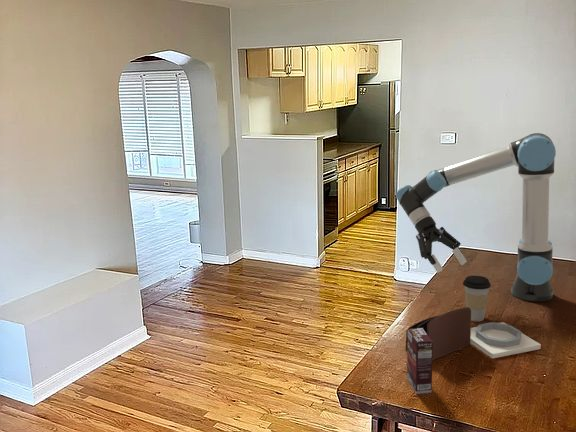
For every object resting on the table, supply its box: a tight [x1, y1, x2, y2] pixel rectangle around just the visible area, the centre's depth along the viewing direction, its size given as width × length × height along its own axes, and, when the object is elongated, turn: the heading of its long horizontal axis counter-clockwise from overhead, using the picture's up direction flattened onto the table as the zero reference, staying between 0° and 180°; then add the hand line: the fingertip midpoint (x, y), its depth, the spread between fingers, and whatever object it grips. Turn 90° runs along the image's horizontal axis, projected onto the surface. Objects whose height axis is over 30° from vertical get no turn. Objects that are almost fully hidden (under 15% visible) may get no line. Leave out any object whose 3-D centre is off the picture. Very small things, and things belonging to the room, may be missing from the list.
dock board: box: [470, 321, 542, 359], centre depth 174 cm, size 18×18×4 cm
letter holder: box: [404, 306, 472, 361], centre depth 170 cm, size 10×20×14 cm, turn 123°
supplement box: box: [406, 328, 433, 395], centre depth 149 cm, size 9×5×16 cm, turn 5°
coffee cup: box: [462, 275, 492, 323], centre depth 191 cm, size 9×9×15 cm
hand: (452, 267), depth 197 cm, fingers open, 13 cm apart
